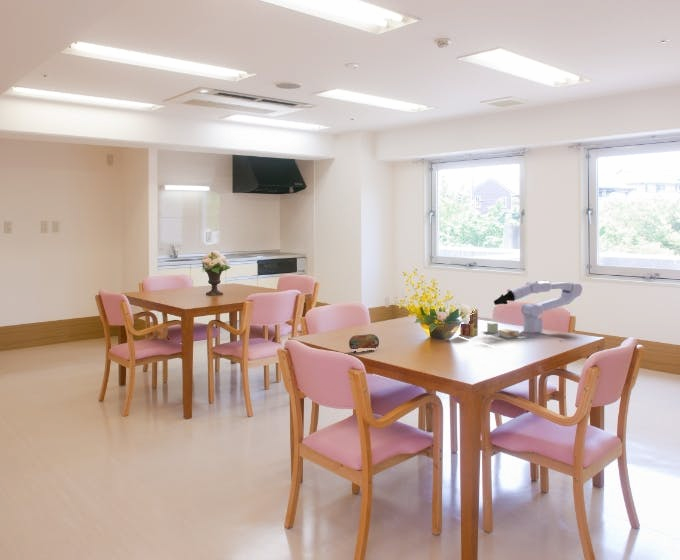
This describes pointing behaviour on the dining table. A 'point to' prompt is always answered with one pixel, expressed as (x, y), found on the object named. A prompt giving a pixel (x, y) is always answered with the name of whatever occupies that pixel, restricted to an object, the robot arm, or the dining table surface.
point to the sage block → (492, 327)
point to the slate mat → (505, 337)
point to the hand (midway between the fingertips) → (497, 301)
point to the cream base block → (509, 333)
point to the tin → (364, 341)
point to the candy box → (470, 325)
